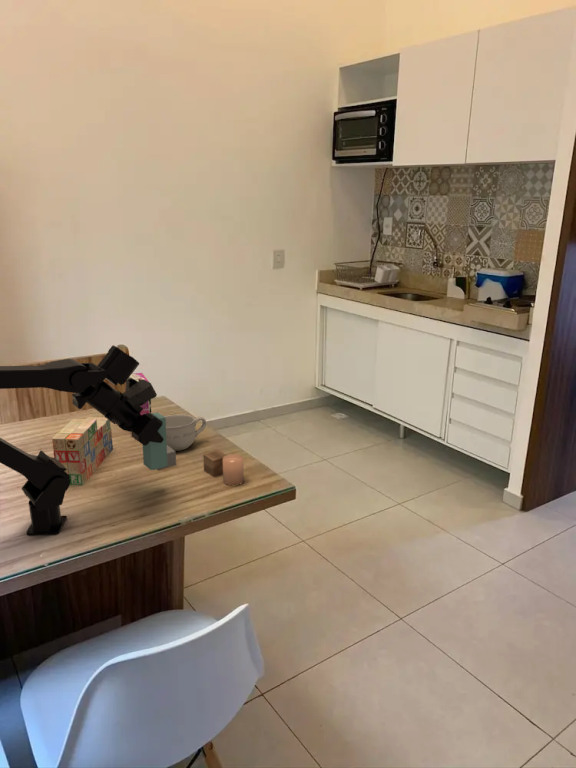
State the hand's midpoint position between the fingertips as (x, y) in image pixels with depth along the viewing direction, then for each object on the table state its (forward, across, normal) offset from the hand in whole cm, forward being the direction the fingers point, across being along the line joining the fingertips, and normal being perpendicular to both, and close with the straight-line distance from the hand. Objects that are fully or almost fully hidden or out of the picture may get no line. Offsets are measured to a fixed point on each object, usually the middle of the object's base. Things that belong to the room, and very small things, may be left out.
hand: (157, 438), depth 132 cm
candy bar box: (+18, +35, 0) cm, 40 cm away
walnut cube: (+20, 0, -2) cm, 20 cm away
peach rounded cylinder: (+20, -7, -2) cm, 22 cm away
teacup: (+21, +19, -3) cm, 28 cm away
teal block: (+4, 0, +5) cm, 7 cm away
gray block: (+14, +12, +4) cm, 19 cm away
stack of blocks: (+4, +23, +16) cm, 28 cm away
